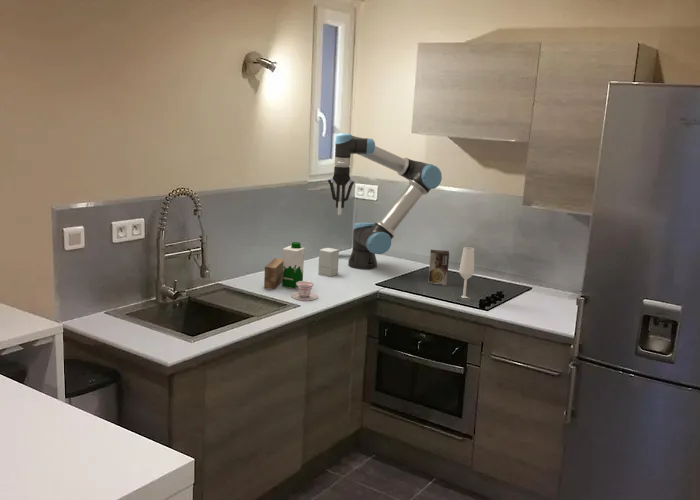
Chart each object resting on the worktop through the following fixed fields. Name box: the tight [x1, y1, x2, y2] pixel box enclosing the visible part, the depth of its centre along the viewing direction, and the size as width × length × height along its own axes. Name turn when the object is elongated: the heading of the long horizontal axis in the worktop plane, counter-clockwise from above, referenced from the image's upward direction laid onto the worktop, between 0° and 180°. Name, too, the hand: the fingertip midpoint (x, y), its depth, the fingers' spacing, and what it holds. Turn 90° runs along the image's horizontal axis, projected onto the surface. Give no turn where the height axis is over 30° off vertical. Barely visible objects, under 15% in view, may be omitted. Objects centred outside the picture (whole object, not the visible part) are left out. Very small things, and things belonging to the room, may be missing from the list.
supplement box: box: [318, 247, 340, 277], centre depth 347 cm, size 7×7×13 cm
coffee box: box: [427, 249, 450, 286], centre depth 341 cm, size 9×6×16 cm
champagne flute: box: [458, 246, 475, 298], centre depth 316 cm, size 7×7×24 cm
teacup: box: [290, 280, 319, 302], centre depth 309 cm, size 12×12×6 cm
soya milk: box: [281, 241, 306, 289], centre depth 322 cm, size 9×9×20 cm
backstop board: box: [263, 257, 284, 290], centre depth 325 cm, size 5×17×10 cm, turn 171°
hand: (339, 214), depth 341 cm, fingers closed
